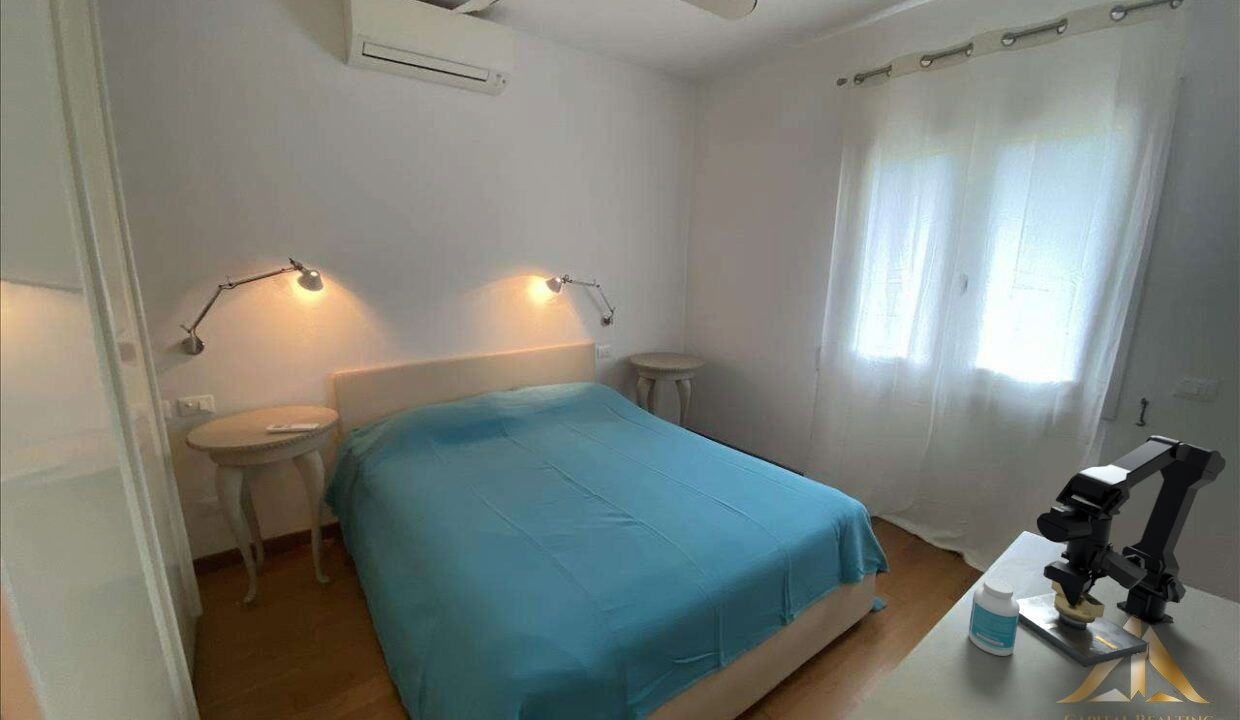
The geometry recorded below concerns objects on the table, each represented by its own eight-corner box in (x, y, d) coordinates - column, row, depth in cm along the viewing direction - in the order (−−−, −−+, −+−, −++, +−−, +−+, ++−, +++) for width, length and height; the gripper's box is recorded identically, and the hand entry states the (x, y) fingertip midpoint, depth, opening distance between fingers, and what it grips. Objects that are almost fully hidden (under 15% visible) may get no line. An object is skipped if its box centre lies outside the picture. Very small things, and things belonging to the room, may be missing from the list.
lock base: (1058, 598, 111) (1061, 583, 110) (1146, 651, 96) (1150, 634, 95) (1003, 610, 108) (1005, 594, 107) (1084, 667, 92) (1088, 649, 91)
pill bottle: (1021, 660, 94) (1031, 600, 91) (979, 655, 95) (987, 595, 93) (1000, 632, 101) (1008, 575, 99) (960, 627, 103) (968, 572, 100)
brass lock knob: (1040, 597, 105) (1044, 575, 104) (1069, 597, 105) (1073, 575, 104) (1078, 628, 96) (1082, 604, 95) (1110, 627, 96) (1115, 604, 95)
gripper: (1124, 569, 86) (1109, 644, 89) (1163, 540, 94) (1148, 610, 97) (1047, 539, 96) (1036, 607, 99) (1089, 515, 104) (1077, 579, 107)
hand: (1076, 601), depth 100 cm, fingers closed on brass lock knob, 4 cm apart
